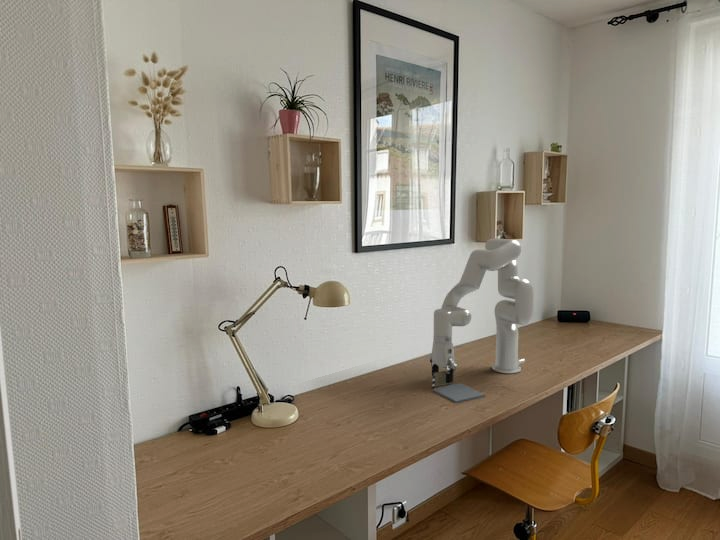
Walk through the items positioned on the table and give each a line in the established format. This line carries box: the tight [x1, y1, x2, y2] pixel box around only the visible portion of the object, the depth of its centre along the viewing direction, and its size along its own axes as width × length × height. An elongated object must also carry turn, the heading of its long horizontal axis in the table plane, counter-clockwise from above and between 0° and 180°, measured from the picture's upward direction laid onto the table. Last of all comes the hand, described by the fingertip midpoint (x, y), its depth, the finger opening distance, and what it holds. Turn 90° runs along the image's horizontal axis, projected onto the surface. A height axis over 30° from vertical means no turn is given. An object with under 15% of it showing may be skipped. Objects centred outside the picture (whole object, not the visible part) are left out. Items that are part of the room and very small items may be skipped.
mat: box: [431, 382, 486, 404], centre depth 199 cm, size 14×15×1 cm
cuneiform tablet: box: [431, 370, 456, 390], centre depth 208 cm, size 6×4×12 cm
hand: (442, 378), depth 211 cm, fingers open, 9 cm apart
